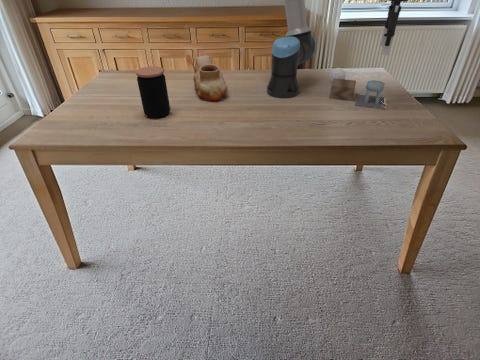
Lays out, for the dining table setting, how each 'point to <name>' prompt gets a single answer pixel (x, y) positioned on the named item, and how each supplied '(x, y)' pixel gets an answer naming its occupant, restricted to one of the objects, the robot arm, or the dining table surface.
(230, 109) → the dining table surface
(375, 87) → the stool
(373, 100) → the mat
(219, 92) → the ceramic vessel
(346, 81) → the pedestal
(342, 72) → the geometric ball
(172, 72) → the dining table surface
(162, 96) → the coffee jar
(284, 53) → the robot arm
